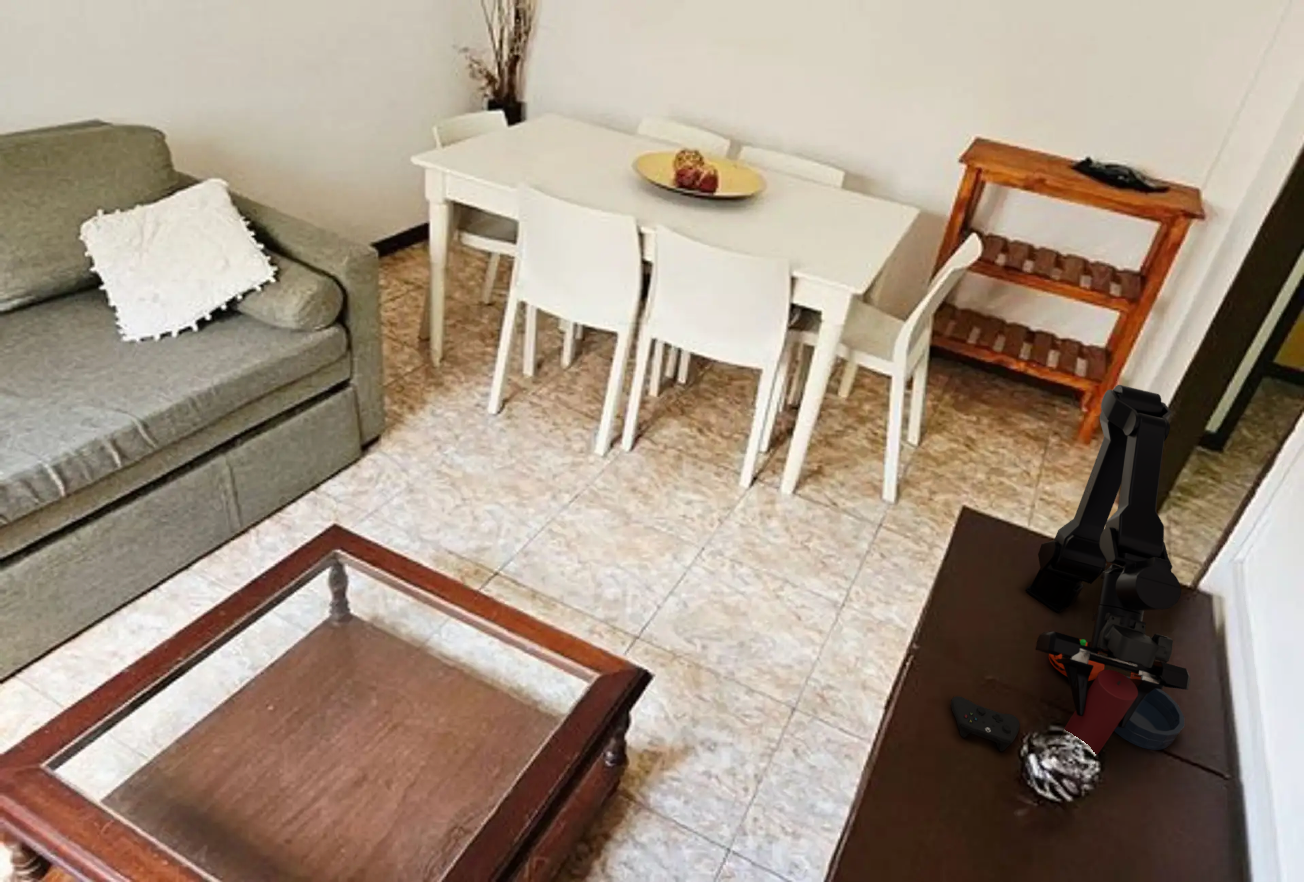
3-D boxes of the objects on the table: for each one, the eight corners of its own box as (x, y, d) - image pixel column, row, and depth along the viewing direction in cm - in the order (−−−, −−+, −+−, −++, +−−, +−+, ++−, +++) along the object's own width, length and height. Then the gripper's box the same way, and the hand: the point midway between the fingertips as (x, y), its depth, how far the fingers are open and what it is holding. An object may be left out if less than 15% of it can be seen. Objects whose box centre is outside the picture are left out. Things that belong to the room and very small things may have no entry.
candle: (1053, 740, 125) (1093, 677, 118) (1070, 723, 128) (1110, 660, 121) (1087, 766, 122) (1130, 703, 115) (1103, 749, 125) (1146, 685, 118)
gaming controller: (1018, 717, 127) (1029, 720, 121) (1008, 753, 126) (1020, 758, 120) (951, 693, 129) (959, 695, 123) (941, 729, 128) (949, 733, 122)
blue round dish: (1086, 712, 131) (1096, 696, 129) (1117, 681, 137) (1127, 666, 135) (1155, 762, 125) (1166, 747, 123) (1184, 728, 131) (1195, 712, 129)
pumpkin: (1092, 697, 133) (1110, 669, 130) (1039, 671, 136) (1056, 643, 133) (1099, 669, 139) (1116, 641, 135) (1048, 645, 142) (1064, 617, 138)
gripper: (1074, 589, 117) (1052, 706, 114) (1220, 629, 114) (1201, 749, 111) (1045, 593, 128) (1023, 700, 125) (1177, 630, 125) (1159, 739, 122)
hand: (1100, 721), depth 120 cm, fingers closed on candle, 5 cm apart
